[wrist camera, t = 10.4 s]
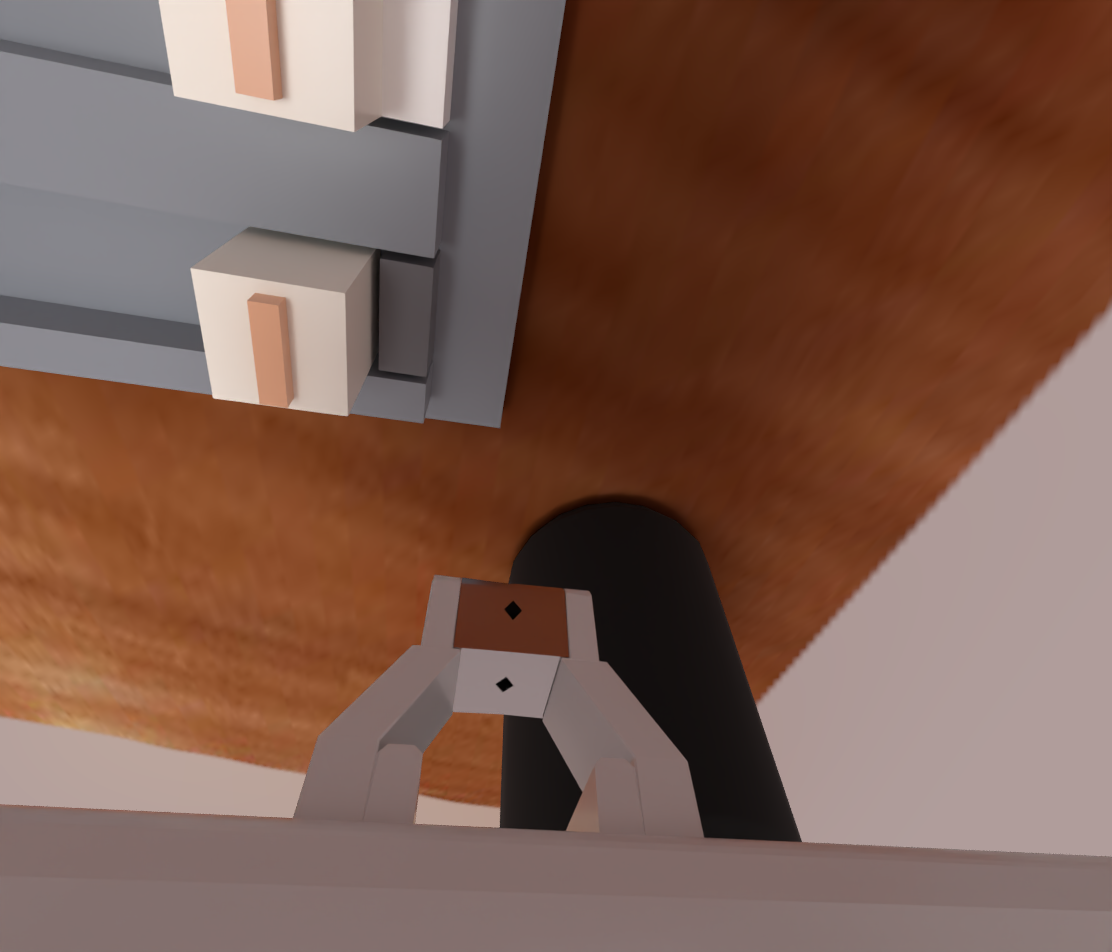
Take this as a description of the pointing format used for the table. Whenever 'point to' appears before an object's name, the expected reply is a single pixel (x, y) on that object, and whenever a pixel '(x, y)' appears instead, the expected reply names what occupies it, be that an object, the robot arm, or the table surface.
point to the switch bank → (270, 195)
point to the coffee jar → (650, 672)
